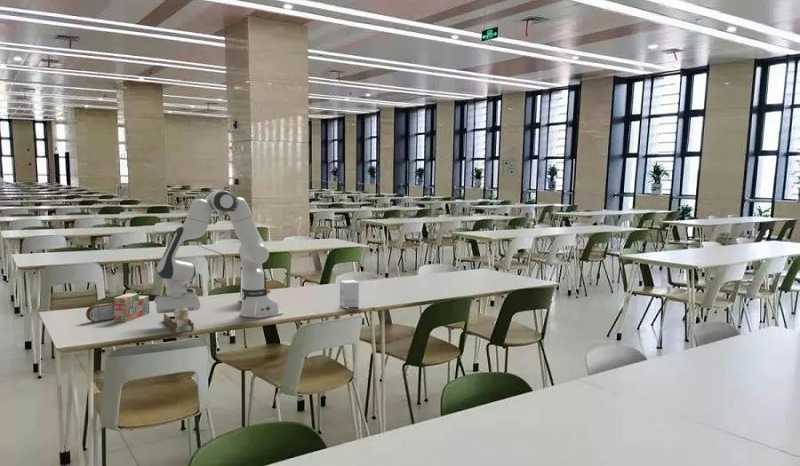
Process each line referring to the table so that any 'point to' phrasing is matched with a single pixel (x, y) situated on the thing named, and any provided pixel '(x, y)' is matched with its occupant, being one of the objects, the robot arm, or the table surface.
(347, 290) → the supplement box
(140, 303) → the stack of blocks
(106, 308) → the tin
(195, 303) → the robot arm
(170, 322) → the walled track
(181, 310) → the birch block
